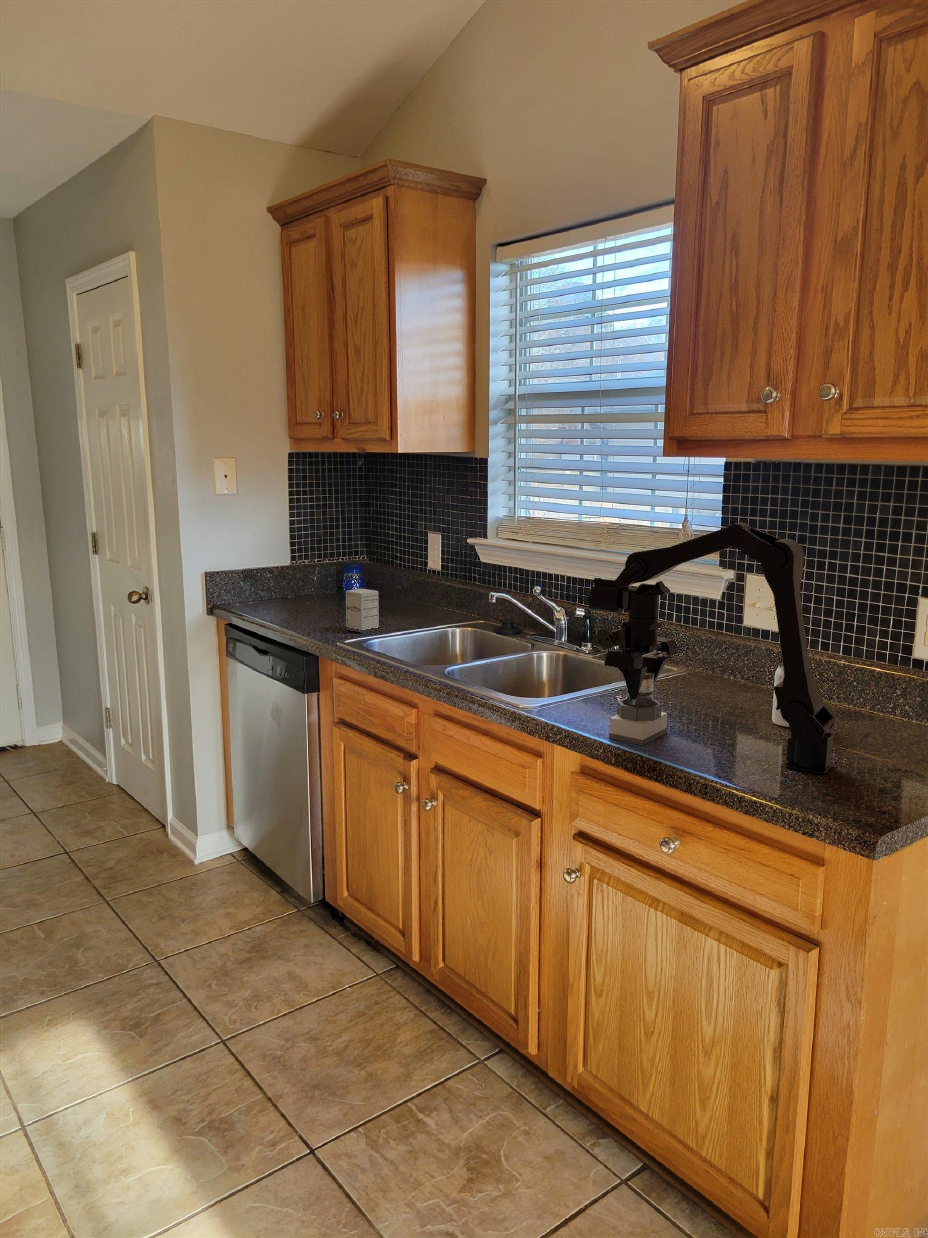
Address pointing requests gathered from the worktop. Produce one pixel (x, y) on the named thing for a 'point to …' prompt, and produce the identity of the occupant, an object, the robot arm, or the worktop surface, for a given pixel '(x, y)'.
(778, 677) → the can
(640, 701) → the lens
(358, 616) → the beige wooden tall block
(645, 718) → the octagonal ring tray
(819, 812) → the worktop surface
